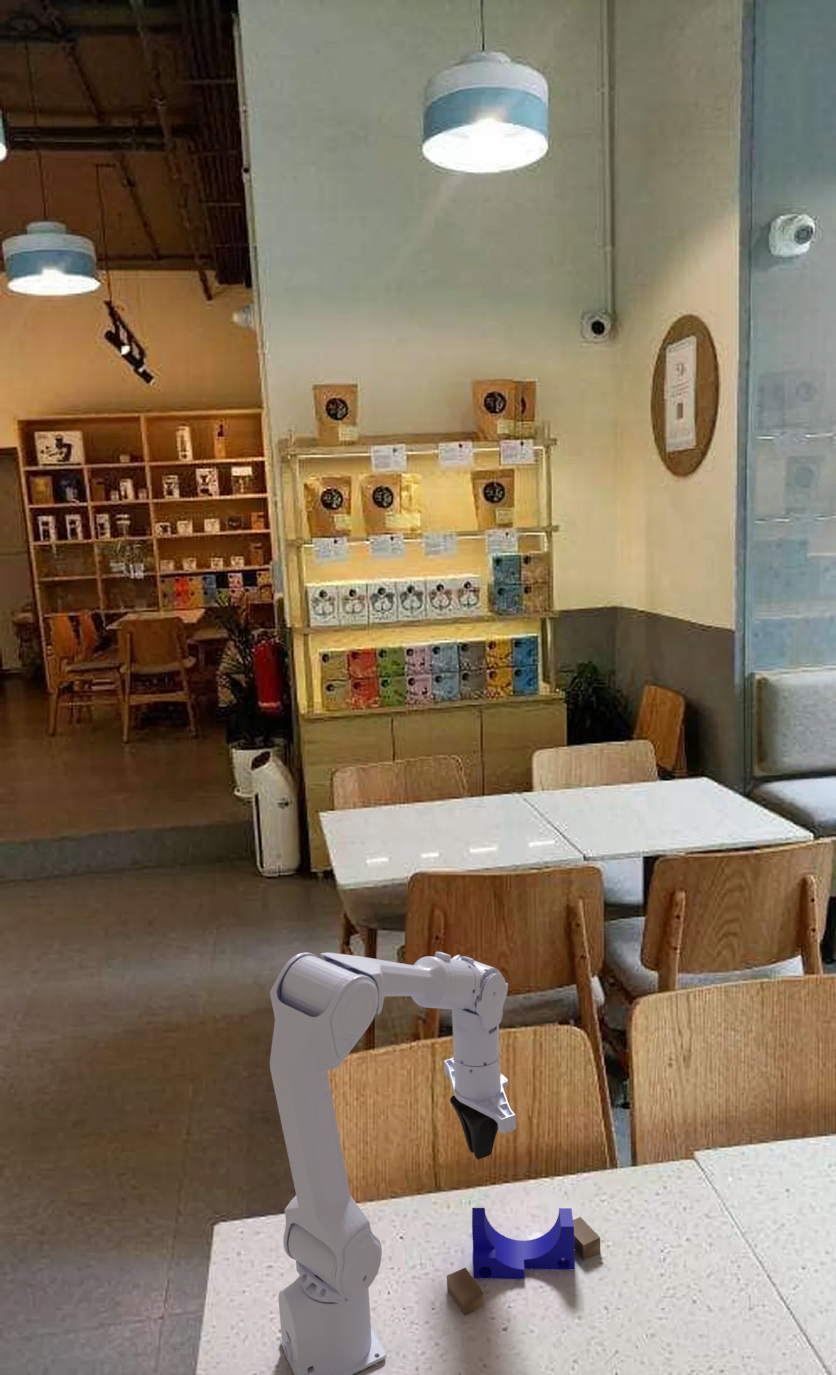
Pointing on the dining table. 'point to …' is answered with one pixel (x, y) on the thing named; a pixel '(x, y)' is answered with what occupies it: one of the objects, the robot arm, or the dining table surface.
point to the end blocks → (472, 1295)
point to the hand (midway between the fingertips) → (480, 1152)
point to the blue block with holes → (521, 1248)
